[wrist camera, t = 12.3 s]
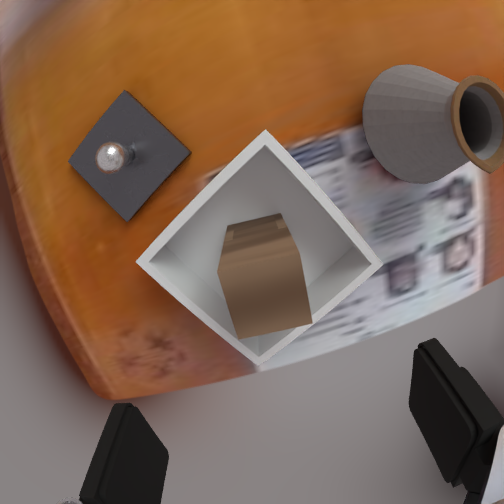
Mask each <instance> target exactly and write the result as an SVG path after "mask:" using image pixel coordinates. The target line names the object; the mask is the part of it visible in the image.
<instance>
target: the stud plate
mask: <svg viewBox="0 0 504 504" xmlns="http://www.w3.org/2000/svg"><path fill="white" fill-rule="evenodd" d="M191 153H192V152H191V151H190V150H189V149H188V148H187V147H186V146H185V145H184V144H183V143H182V142H181V141H180V140H179V139H178V138H177V137H175V136H174V135H173V134H172V133H171V132H170V131H169V130H168V129H167V128H166V127H165V126H164V125H163V124H162V123H161V122H160V121H159V120H158V119H157V118H156V117H155V116H153V115H152V114H151V113H150V112H149V111H148V110H147V109H146V108H145V107H144V106H143V105H142V104H141V103H140V102H139V101H138V100H137V99H135V98H134V97H133V96H132V95H131V94H130V93H129V92H128V91H125V90H124V91H123V92H122V93H121V94H120V96H119V97H118V98H117V99H116V100H115V101H114V102H113V104H112V105H111V106H110V107H109V108H108V110H107V111H106V112H105V113H104V114H103V116H102V117H101V118H100V119H99V121H98V122H97V123H96V124H95V126H94V127H93V128H92V129H91V131H90V132H89V133H88V135H87V136H86V137H85V139H84V140H83V141H82V143H81V144H80V145H79V147H78V148H77V149H76V151H75V152H74V154H73V155H72V156H71V158H70V159H69V161H68V162H69V163H70V164H71V165H72V166H73V168H74V169H75V170H76V171H77V172H78V173H79V174H80V175H81V176H82V177H83V178H84V179H85V180H86V181H87V182H88V183H89V184H90V185H91V186H92V187H93V188H94V189H95V190H96V191H97V192H98V193H99V195H100V196H101V197H102V198H103V199H104V200H105V201H106V202H107V203H108V204H109V205H110V206H111V207H112V208H113V209H114V210H115V211H116V212H117V213H118V214H119V215H120V216H121V217H122V218H123V219H124V220H126V221H127V222H128V221H129V220H131V219H132V217H133V216H134V215H135V214H136V213H137V212H138V210H139V209H140V208H141V207H142V206H143V205H144V204H145V202H146V201H147V200H148V199H149V198H150V197H151V196H152V194H153V193H154V192H155V191H156V190H157V189H158V188H159V187H160V186H161V184H162V183H163V182H164V181H165V180H166V179H167V178H168V177H169V176H170V175H171V174H172V172H173V171H174V170H175V169H176V168H177V167H178V166H179V165H180V164H181V163H182V162H183V161H184V160H185V159H186V158H187V157H188V156H189V155H190V154H191Z"/></svg>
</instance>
